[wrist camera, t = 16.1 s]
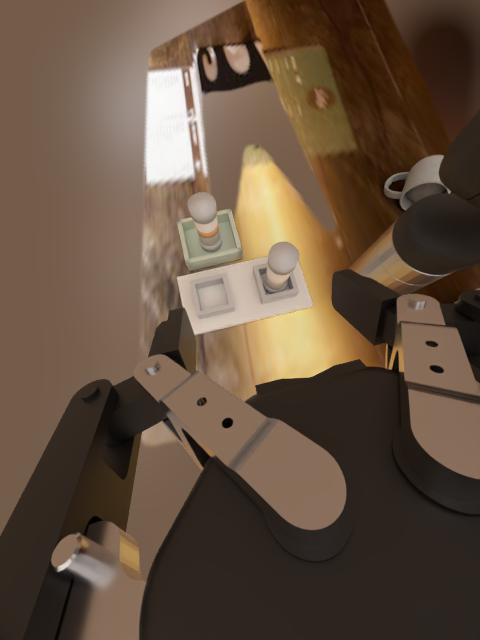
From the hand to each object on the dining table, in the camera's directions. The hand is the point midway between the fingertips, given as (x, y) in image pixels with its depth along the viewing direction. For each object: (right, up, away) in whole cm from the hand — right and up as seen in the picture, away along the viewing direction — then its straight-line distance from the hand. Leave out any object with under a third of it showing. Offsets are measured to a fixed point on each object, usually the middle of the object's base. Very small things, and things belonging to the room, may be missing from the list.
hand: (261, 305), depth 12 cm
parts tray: (-7, +15, +35) cm, 39 cm away
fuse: (+5, +6, +32) cm, 33 cm away
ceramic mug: (+35, +26, +37) cm, 57 cm away
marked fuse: (-7, +15, +34) cm, 38 cm away
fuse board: (0, +5, +32) cm, 33 cm away
